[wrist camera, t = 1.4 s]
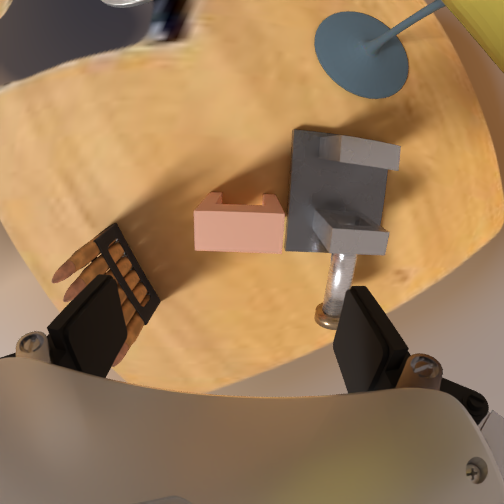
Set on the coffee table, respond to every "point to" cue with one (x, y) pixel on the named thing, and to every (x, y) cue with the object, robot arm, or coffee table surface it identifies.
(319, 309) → the shaft
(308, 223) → the bracket
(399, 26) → the cocktail glass
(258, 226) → the block
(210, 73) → the coffee table surface
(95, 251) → the ammunition clip
